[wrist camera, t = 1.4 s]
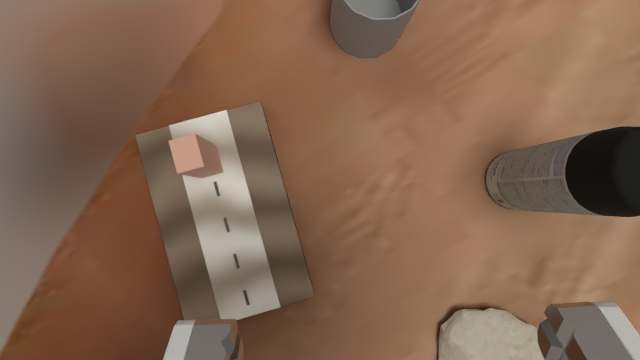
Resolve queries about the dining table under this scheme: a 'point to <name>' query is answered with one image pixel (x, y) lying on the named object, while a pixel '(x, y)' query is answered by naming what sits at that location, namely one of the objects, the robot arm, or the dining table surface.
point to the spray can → (572, 175)
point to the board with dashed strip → (227, 219)
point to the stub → (195, 156)
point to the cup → (369, 24)
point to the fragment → (487, 337)
